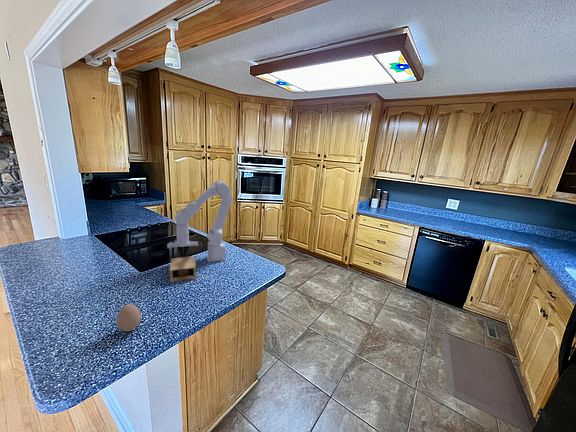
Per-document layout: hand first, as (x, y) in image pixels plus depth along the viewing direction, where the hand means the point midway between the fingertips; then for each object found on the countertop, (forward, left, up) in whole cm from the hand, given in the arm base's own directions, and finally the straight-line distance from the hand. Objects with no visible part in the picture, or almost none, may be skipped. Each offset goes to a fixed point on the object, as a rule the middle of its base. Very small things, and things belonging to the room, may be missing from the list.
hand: (183, 259), depth 124 cm
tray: (0, +8, -2) cm, 8 cm away
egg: (+16, +46, -2) cm, 49 cm away
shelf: (0, +12, -2) cm, 12 cm away
